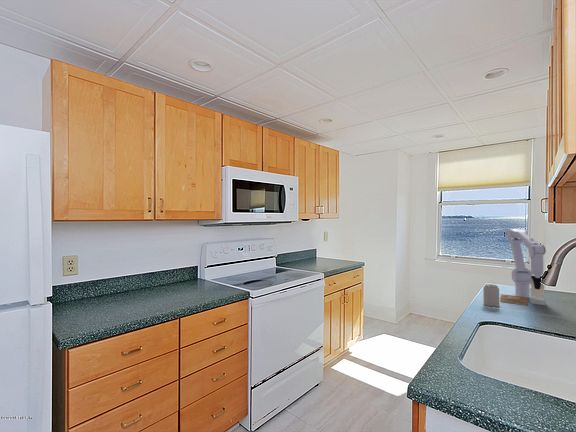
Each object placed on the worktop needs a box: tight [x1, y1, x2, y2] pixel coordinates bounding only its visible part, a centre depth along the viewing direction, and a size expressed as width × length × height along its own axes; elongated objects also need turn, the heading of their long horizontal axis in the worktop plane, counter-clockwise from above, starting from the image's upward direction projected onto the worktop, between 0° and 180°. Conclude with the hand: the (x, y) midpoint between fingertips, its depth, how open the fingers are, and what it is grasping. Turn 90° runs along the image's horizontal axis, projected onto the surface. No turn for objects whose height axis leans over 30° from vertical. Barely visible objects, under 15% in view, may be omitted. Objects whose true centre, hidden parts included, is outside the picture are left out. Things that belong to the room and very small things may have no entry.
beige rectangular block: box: [530, 280, 546, 299], centre depth 178 cm, size 2×6×9 cm, turn 52°
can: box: [482, 283, 500, 308], centre depth 173 cm, size 8×8×12 cm
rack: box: [499, 293, 529, 306], centre depth 182 cm, size 13×13×3 cm
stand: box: [529, 297, 547, 306], centre depth 177 cm, size 6×7×3 cm
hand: (537, 288), depth 178 cm, fingers closed on beige rectangular block, 2 cm apart
